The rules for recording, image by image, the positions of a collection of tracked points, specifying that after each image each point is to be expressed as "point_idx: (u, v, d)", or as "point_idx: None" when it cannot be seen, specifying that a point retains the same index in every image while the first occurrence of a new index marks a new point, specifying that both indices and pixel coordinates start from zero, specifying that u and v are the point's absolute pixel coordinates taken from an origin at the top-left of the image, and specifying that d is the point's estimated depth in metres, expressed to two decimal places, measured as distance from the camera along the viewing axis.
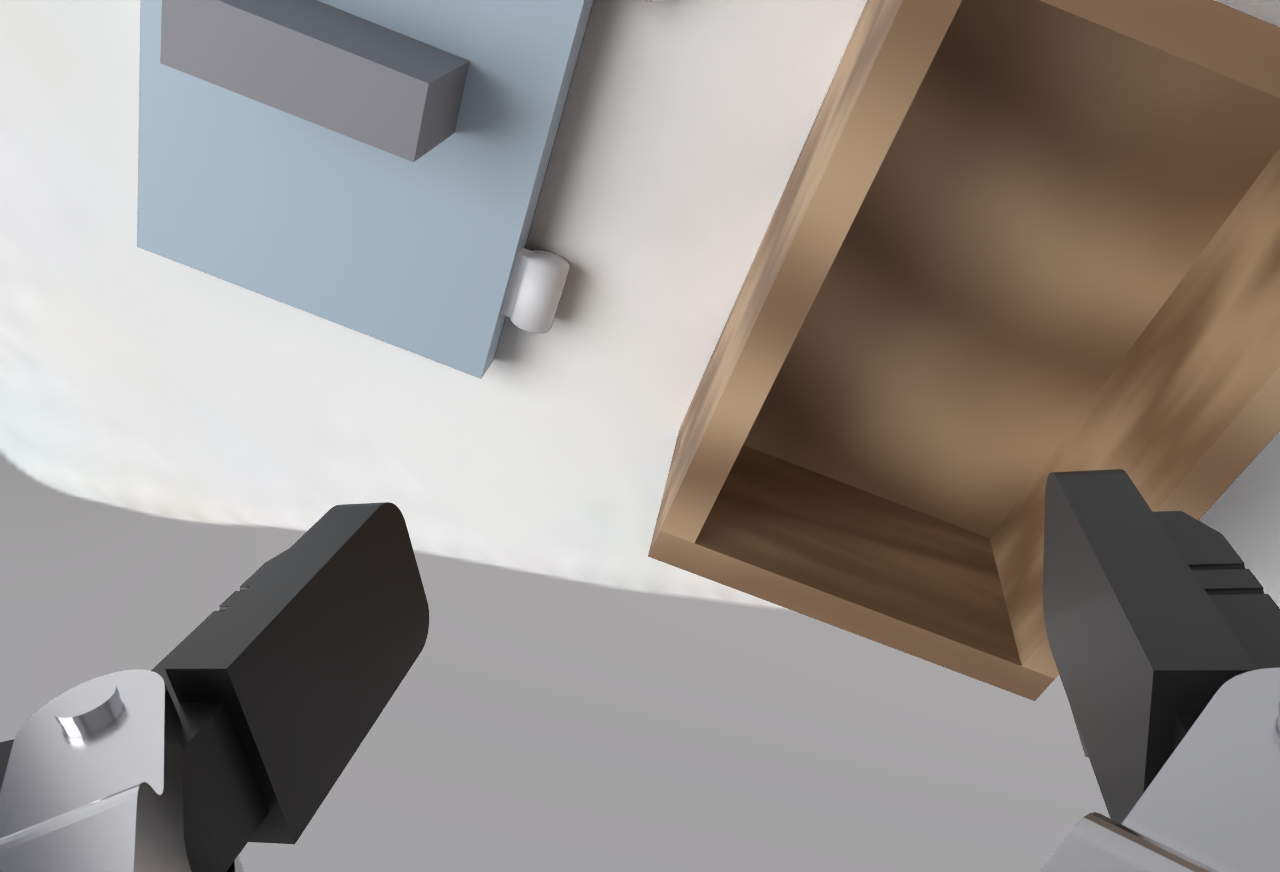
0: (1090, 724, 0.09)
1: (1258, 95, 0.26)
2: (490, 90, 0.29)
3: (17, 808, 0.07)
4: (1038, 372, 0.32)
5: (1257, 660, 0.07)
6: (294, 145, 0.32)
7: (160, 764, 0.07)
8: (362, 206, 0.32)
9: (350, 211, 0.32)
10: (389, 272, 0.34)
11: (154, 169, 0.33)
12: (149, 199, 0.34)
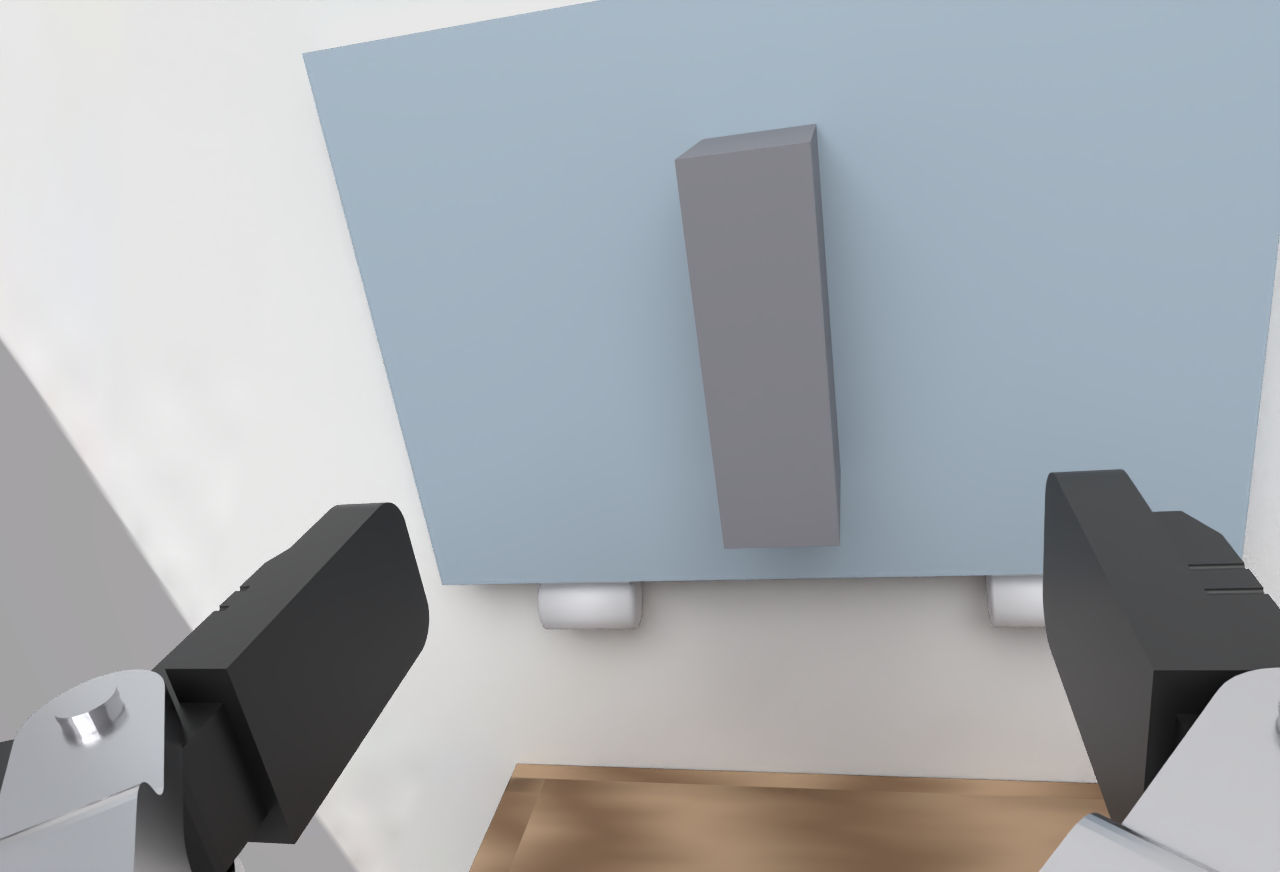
0: (1090, 724, 0.09)
1: None
2: None
3: (17, 808, 0.07)
4: None
5: (1257, 660, 0.07)
6: (609, 272, 0.21)
7: (160, 764, 0.07)
8: (578, 384, 0.22)
9: (561, 370, 0.22)
10: (509, 440, 0.23)
11: (446, 58, 0.20)
12: (393, 59, 0.20)
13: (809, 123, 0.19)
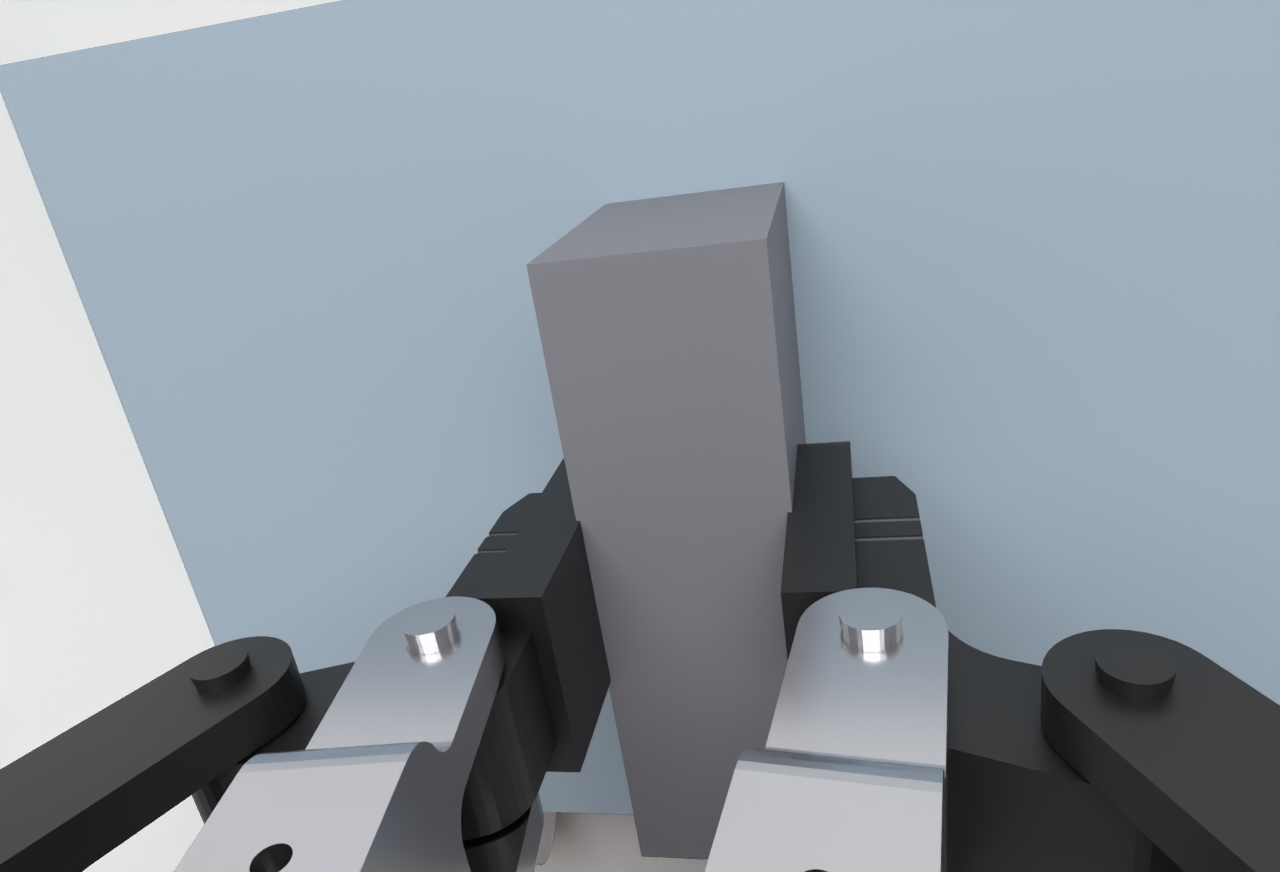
0: None
1: None
2: None
3: (408, 715, 0.07)
4: None
5: None
6: (475, 398, 0.14)
7: (460, 714, 0.07)
8: (440, 552, 0.15)
9: (415, 532, 0.15)
10: (349, 623, 0.16)
11: (205, 76, 0.13)
12: (125, 77, 0.13)
13: (773, 181, 0.12)
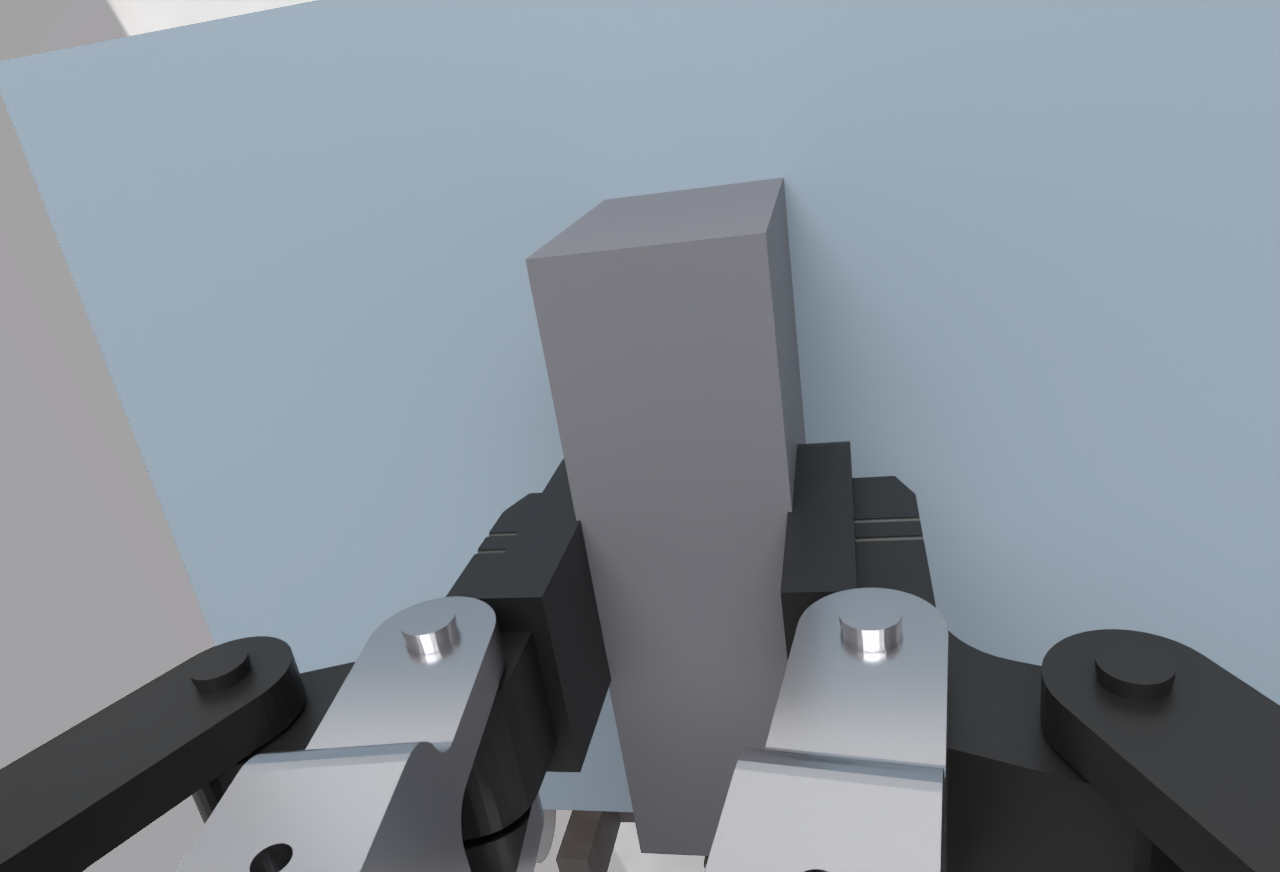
0: None
1: None
2: None
3: (409, 715, 0.07)
4: None
5: None
6: (474, 394, 0.14)
7: (460, 714, 0.07)
8: (440, 549, 0.15)
9: (414, 529, 0.15)
10: (348, 621, 0.16)
11: (204, 71, 0.13)
12: (124, 73, 0.13)
13: (772, 177, 0.12)
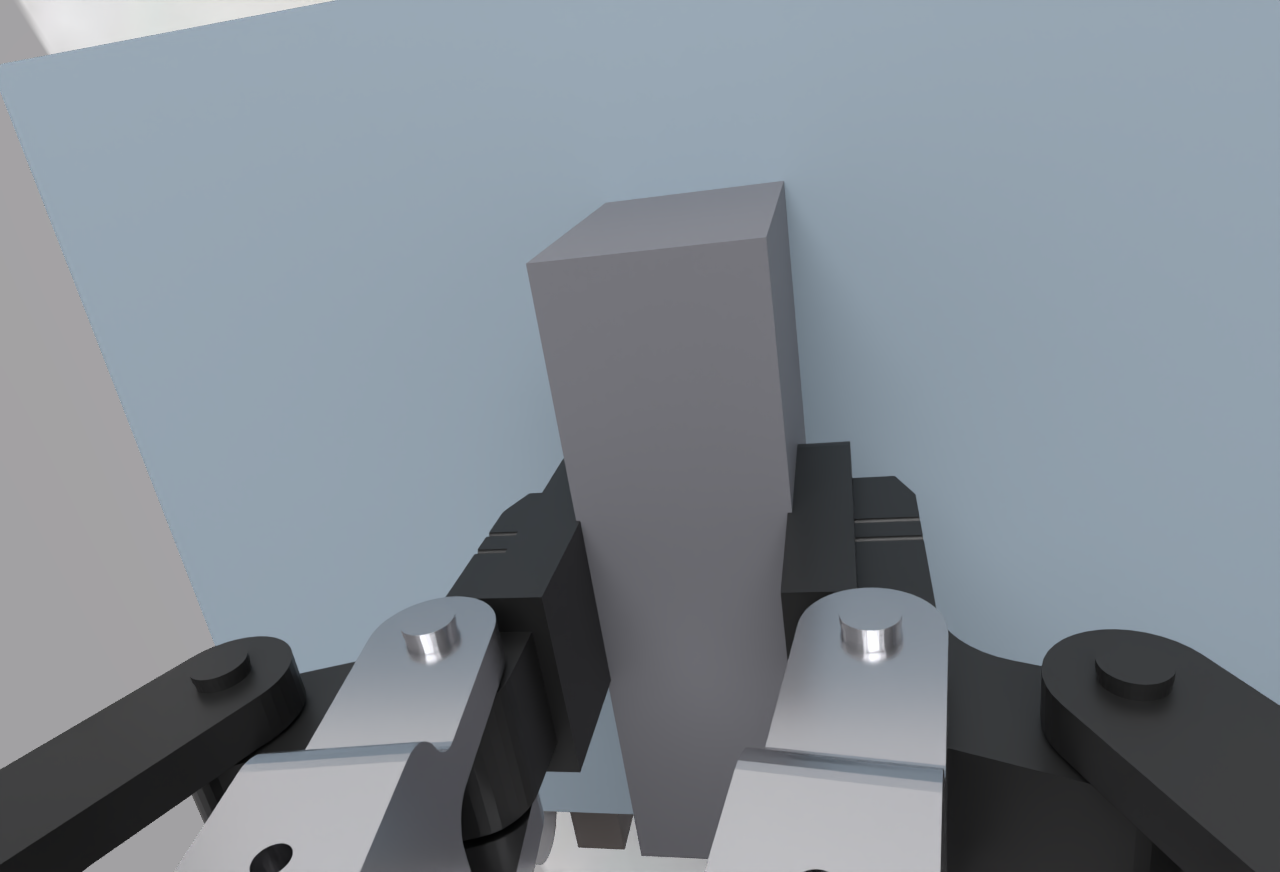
0: None
1: None
2: None
3: (409, 715, 0.07)
4: None
5: None
6: (475, 396, 0.14)
7: (460, 714, 0.07)
8: (440, 552, 0.15)
9: (415, 532, 0.15)
10: (348, 623, 0.16)
11: (205, 74, 0.13)
12: (125, 76, 0.13)
13: (773, 180, 0.12)
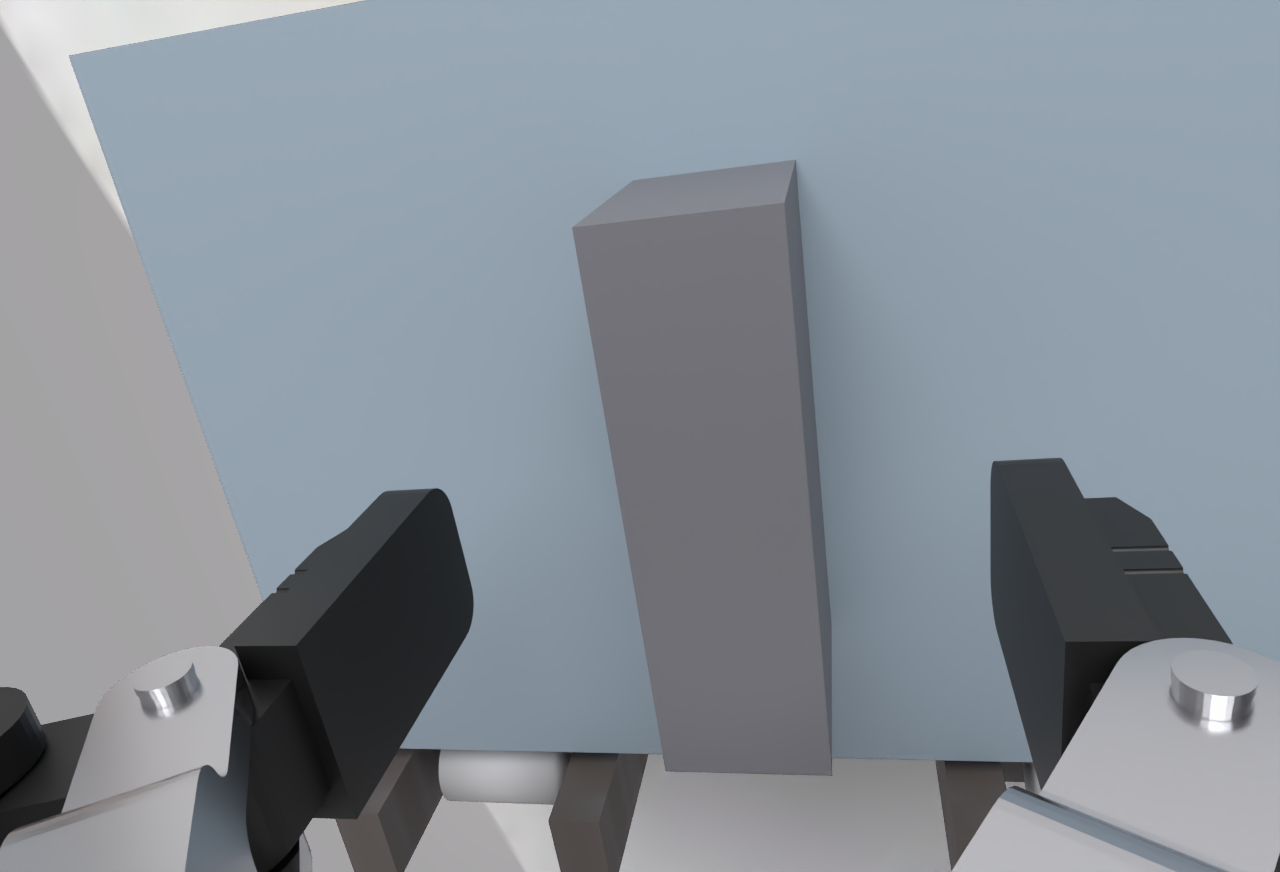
0: (1024, 699, 0.09)
1: None
2: None
3: (107, 777, 0.07)
4: None
5: (1169, 634, 0.08)
6: (510, 361, 0.15)
7: (227, 744, 0.07)
8: (475, 506, 0.16)
9: (452, 487, 0.16)
10: None
11: (268, 64, 0.14)
12: (194, 65, 0.14)
13: (786, 159, 0.13)
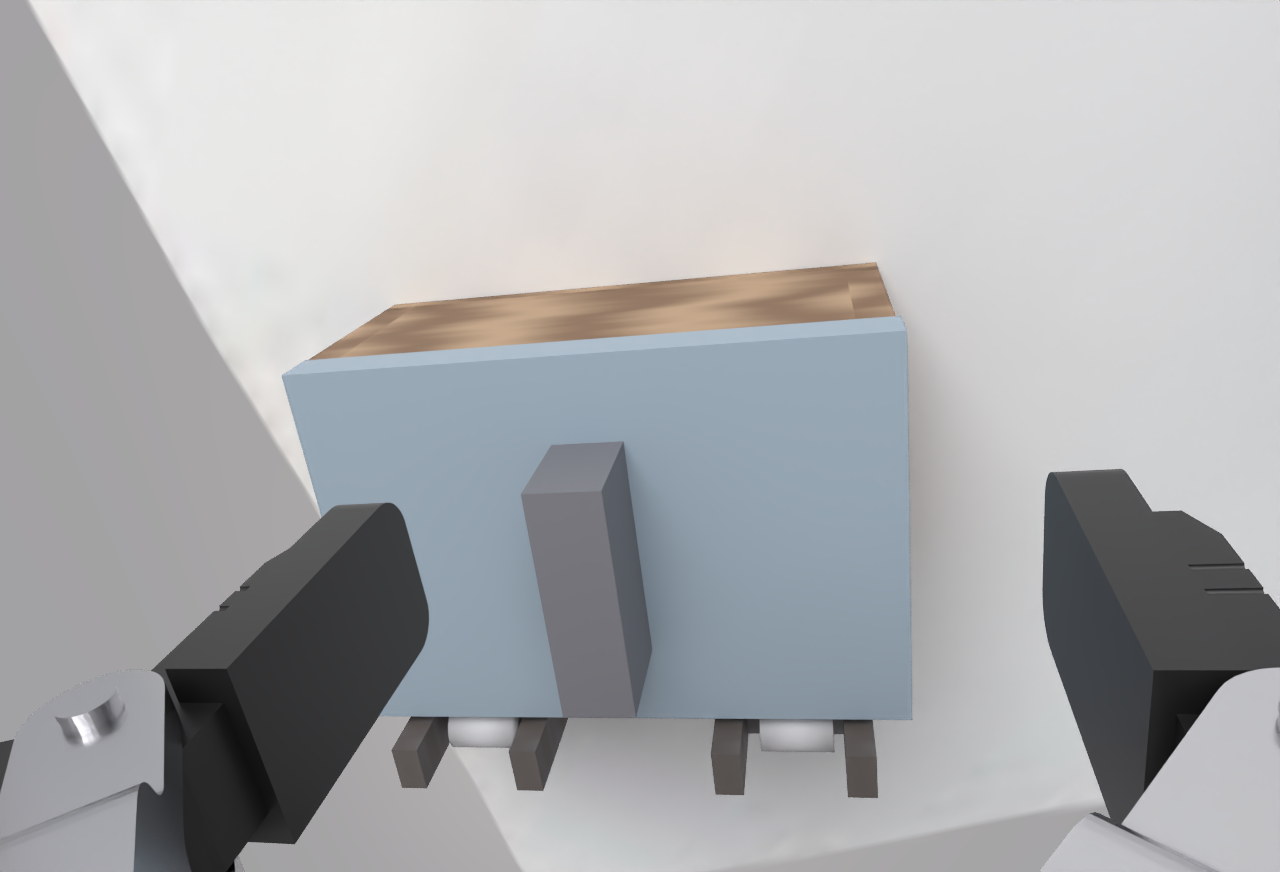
0: (1090, 724, 0.09)
1: None
2: None
3: (17, 808, 0.07)
4: None
5: (1257, 660, 0.07)
6: (492, 520, 0.31)
7: (160, 764, 0.07)
8: (473, 588, 0.32)
9: (461, 578, 0.32)
10: None
11: (380, 386, 0.30)
12: (344, 383, 0.30)
13: (619, 440, 0.29)
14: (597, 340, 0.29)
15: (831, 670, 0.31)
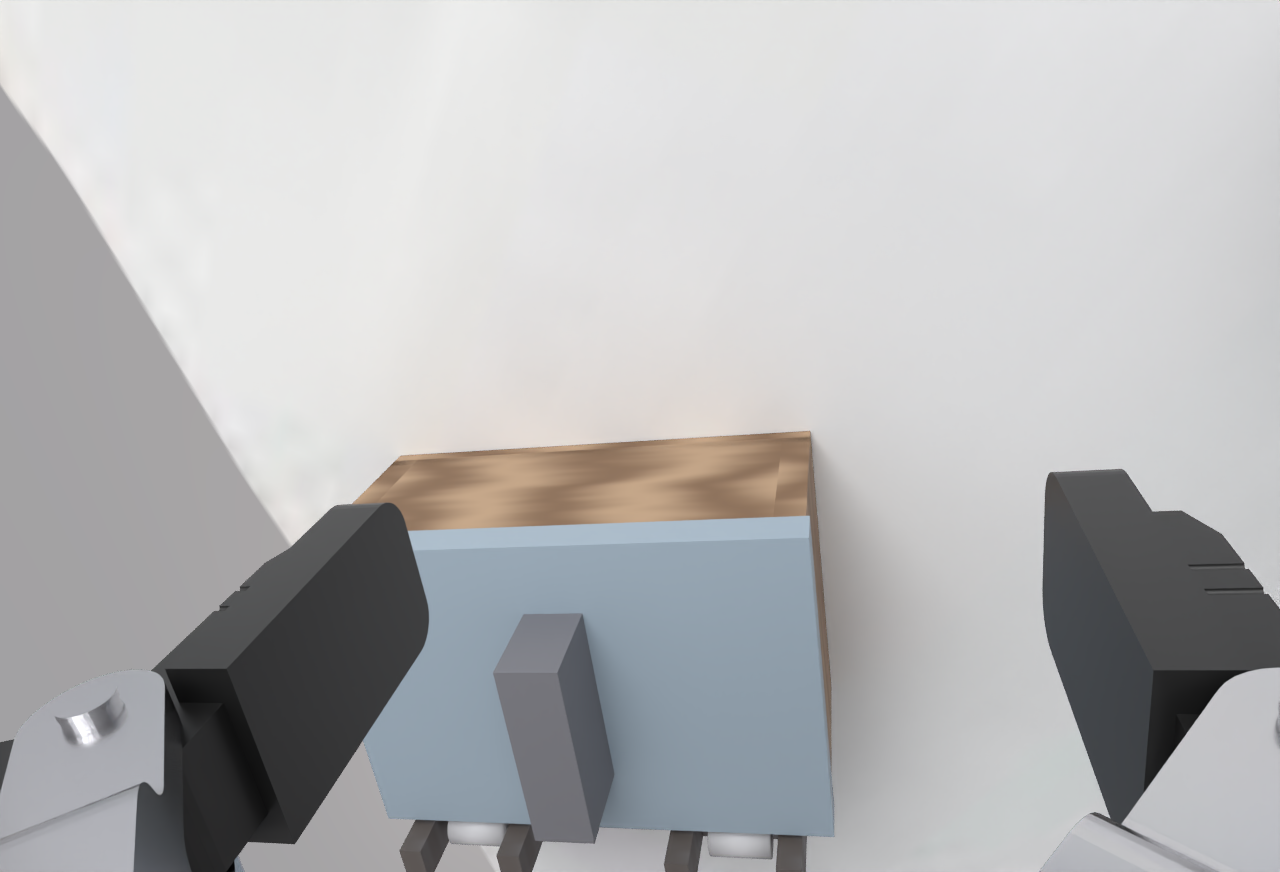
0: (1090, 724, 0.09)
1: None
2: None
3: (17, 808, 0.07)
4: None
5: (1257, 660, 0.07)
6: (477, 669, 0.37)
7: (161, 764, 0.07)
8: (464, 721, 0.38)
9: (454, 713, 0.38)
10: (425, 746, 0.39)
11: None
12: None
13: (579, 612, 0.35)
14: (560, 528, 0.35)
15: (763, 795, 0.37)
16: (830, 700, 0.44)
